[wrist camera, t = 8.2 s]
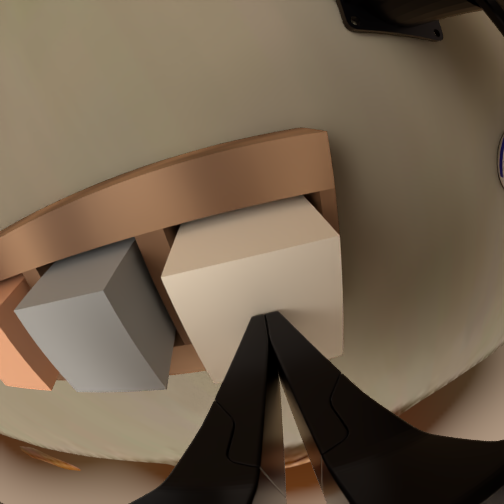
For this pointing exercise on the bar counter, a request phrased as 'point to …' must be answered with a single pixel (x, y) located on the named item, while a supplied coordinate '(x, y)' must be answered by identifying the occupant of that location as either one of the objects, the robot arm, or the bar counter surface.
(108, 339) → the slate key
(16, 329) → the terracotta key
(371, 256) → the bar counter surface
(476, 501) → the robot arm
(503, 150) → the energy drink
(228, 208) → the walnut key block
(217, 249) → the ivory key
